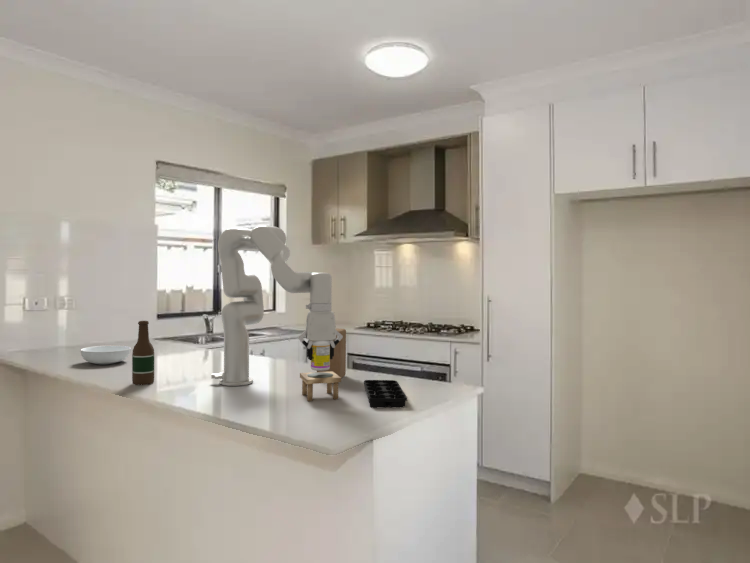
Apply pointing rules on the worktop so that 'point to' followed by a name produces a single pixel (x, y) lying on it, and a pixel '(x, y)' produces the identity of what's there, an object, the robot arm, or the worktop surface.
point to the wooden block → (339, 356)
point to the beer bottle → (143, 357)
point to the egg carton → (384, 393)
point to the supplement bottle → (320, 355)
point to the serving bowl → (105, 354)
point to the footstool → (317, 378)
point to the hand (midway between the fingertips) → (320, 358)
